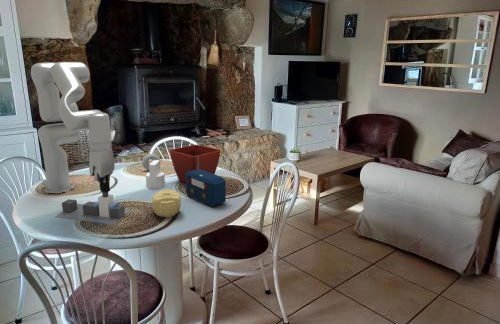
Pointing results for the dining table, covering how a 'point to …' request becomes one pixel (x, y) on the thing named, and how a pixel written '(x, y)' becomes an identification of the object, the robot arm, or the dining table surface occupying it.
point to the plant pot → (194, 159)
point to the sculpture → (166, 203)
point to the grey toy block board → (91, 212)
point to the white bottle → (105, 204)
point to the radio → (206, 187)
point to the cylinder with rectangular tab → (155, 176)
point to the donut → (146, 160)
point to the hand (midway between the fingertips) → (105, 191)
